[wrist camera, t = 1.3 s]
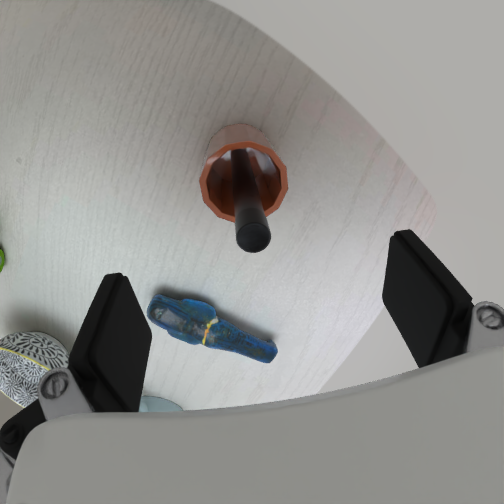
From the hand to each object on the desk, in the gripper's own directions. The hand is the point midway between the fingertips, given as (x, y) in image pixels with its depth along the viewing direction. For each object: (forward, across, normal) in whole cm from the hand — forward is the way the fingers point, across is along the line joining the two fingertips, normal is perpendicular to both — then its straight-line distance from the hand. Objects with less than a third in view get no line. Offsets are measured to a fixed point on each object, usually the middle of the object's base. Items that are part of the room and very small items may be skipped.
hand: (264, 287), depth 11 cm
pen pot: (+16, 0, 0) cm, 16 cm away
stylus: (+16, 0, 0) cm, 16 cm away
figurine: (+17, +5, +16) cm, 24 cm away
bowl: (+17, +30, +20) cm, 40 cm away
